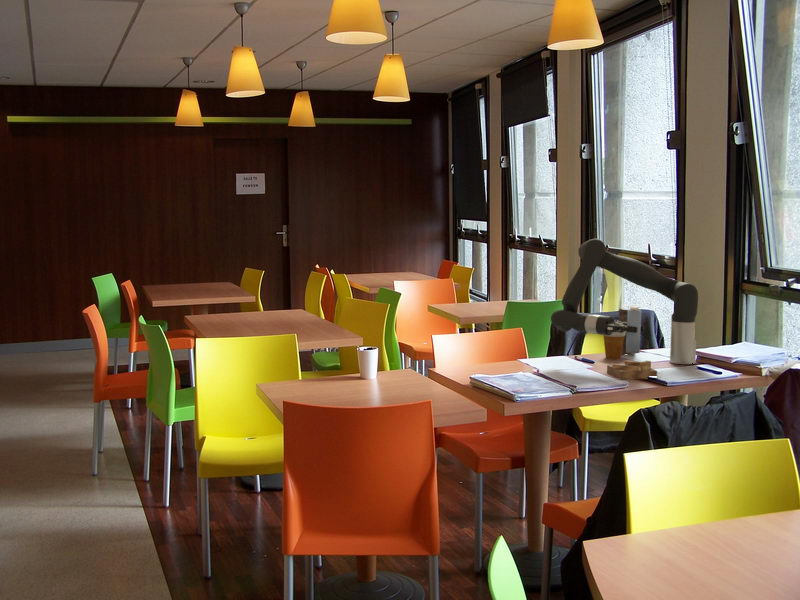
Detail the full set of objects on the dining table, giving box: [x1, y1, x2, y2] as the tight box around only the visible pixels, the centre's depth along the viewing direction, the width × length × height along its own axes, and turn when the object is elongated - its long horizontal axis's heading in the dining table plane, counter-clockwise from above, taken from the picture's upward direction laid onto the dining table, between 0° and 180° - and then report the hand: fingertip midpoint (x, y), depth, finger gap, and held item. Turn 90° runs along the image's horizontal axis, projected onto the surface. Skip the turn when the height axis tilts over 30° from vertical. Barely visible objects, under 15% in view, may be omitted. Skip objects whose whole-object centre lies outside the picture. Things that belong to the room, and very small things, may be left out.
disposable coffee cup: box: [603, 332, 625, 360], centre depth 355 cm, size 10×10×12 cm
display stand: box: [606, 359, 658, 381], centre depth 316 cm, size 15×15×6 cm
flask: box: [626, 306, 642, 354], centre depth 315 cm, size 5×5×17 cm
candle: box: [618, 308, 636, 355], centre depth 366 cm, size 8×7×20 cm
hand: (640, 329), depth 314 cm, fingers closed on flask, 5 cm apart
